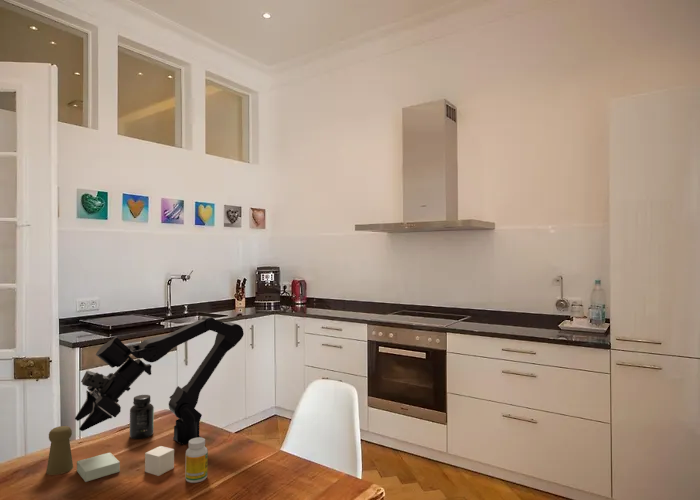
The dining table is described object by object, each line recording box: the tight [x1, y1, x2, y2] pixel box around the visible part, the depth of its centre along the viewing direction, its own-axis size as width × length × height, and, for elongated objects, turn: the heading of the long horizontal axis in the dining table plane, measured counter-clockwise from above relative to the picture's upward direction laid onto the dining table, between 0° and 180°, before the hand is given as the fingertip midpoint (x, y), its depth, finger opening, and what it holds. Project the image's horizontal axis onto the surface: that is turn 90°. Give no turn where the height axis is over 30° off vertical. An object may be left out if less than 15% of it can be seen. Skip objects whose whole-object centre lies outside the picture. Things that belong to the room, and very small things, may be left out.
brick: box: [144, 445, 175, 477], centre depth 121 cm, size 5×5×5 cm
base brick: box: [76, 452, 121, 483], centre depth 120 cm, size 8×8×2 cm
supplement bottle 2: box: [184, 437, 209, 484], centre depth 117 cm, size 5×5×10 cm
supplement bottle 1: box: [129, 394, 155, 440], centre depth 144 cm, size 7×7×12 cm
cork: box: [45, 425, 74, 476], centre depth 121 cm, size 6×6×11 cm
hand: (78, 424), depth 124 cm, fingers open, 9 cm apart
